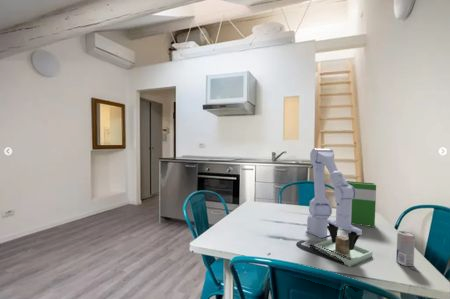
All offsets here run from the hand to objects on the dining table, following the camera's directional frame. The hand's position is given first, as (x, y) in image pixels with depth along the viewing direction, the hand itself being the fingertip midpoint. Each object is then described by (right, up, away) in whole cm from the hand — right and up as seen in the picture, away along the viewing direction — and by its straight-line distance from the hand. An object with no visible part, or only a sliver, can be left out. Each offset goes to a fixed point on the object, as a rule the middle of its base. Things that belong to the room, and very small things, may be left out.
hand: (342, 245), depth 96 cm
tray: (0, -3, 0) cm, 3 cm away
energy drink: (+21, -4, -7) cm, 22 cm away
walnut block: (0, -3, 0) cm, 3 cm away
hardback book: (+28, -3, +39) cm, 48 cm away
